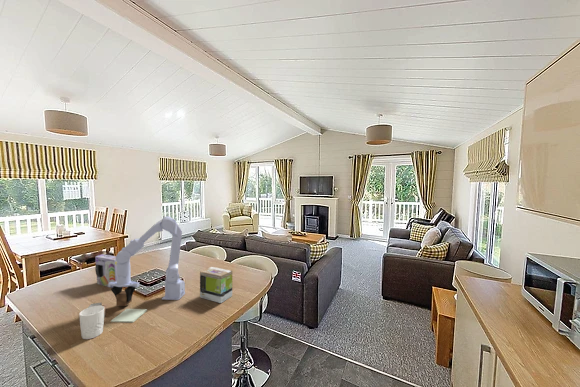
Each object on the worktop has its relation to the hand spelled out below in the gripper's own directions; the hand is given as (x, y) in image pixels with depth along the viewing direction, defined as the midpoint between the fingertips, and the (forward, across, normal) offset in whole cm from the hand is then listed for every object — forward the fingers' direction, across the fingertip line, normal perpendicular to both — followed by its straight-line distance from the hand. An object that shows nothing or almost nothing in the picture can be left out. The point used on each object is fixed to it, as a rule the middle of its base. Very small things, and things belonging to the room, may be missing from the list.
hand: (124, 300), depth 118 cm
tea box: (+3, -43, -12) cm, 45 cm away
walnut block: (+2, 0, 0) cm, 2 cm away
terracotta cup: (+3, +4, +10) cm, 11 cm away
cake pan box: (+3, +26, -23) cm, 35 cm away
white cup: (+3, -3, +22) cm, 22 cm away
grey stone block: (+3, +9, +7) cm, 12 cm away
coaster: (+3, -9, +9) cm, 13 cm away
